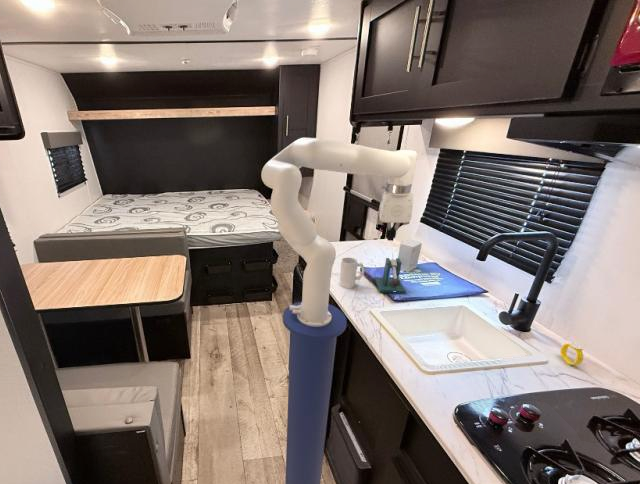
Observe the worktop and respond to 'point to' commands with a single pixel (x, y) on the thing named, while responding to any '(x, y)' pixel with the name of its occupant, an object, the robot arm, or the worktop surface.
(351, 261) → the mug
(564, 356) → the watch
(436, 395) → the worktop surface
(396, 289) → the toaster bracket
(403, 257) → the small box
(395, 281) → the toaster lever
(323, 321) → the robot arm
